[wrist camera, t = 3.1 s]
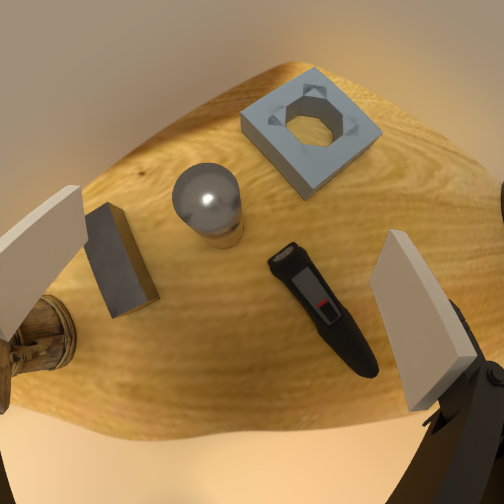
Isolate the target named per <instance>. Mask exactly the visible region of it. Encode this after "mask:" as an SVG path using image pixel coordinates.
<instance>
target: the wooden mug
mask: <svg viewBox="0 0 504 504" xmlns="http://www.w3.org/2000/svg"><path fill="white" fill-rule="evenodd" d="M74 346H75V333H74V328H73V325H72V321H71V319H70V317H69V314H68V312H67V310H66V309H65V307H64V306H63V304H62V303H61V302H60V301H58V300H57V299H55V298H54V297H53V296H50V295H43V296H41V297H40V299H39V300H38V301H37V303H36V304H35V305H34V307H33V308H32V309H31V311H30V312H29V313H28V315H27V316H26V318H25V319H24V320H23V322H22V323H21V325H20V326H19V327H18V329H17V330H16V332H15V333H14V335H13V336H12V338H11V339H10V341H9V342H7V341H5V340H3V339H1V338H0V414H4V413H5V412H6V410H7V409H8V408H9V404H10V393H11V377H14V376H17V374H21V373H27V372H33V371H39V370H45V371H51V370H55V369H59V368H62V367H64V366H66V365H67V364H68V363H69V362H70V361H71V359H72V356H73V354H74Z"/></svg>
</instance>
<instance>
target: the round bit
mask: <svg viewBox="0 0 504 504" xmlns="http://www.w3.org/2000/svg"><path fill="white" fill-rule="evenodd" d="M172 201H173V206H174V209H175V211H176V213H177V214H178V216H179V217H180V218H181V219H182V220H183V221H184V222H185V223H186V224H187V225H189V226H190V227H191V228H192V229H193V230H194V231H195V232H197V233H198V234H199V235H200V236H201V237H202V238H203V239H205V240H206V241H207V242H208V243H209V244H210V245H212V246H214V247H216V248H220V249H226V248H230V247H232V246H234V245H235V244H237V243H238V242H239V240H240V239H241V237H242V235H243V231H244V225H243V217H242V208H241V199H240V191H239V185H238V183H237V180H236V178H235V177H234V175H233V174H232V173H231V172H230V171H229V170H228V169H226V168H225V167H223V166H221V165H218V164H215V163H201V164H197V165H194V166H192V167H190V168H188V169H187V170H186V171H184V172H183V173H182V174H181V175H180V177H179V178H178V179H177V181H176V183H175V185H174V188H173V193H172Z"/></svg>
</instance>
